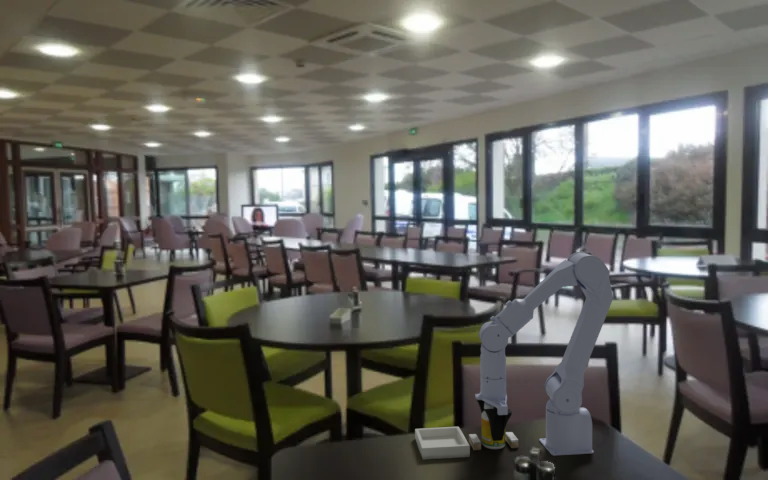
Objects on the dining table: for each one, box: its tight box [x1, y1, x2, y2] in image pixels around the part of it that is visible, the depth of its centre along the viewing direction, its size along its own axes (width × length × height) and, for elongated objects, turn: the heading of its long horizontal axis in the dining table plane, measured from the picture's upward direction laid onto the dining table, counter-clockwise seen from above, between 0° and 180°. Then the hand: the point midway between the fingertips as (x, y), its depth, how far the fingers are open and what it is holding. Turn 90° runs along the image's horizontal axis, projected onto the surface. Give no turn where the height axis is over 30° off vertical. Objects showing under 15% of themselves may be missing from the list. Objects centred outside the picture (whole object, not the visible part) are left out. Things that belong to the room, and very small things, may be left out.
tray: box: [414, 426, 471, 460], centre depth 122 cm, size 10×10×2 cm
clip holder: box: [468, 431, 519, 451], centre depth 124 cm, size 10×4×2 cm, turn 95°
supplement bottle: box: [480, 402, 506, 450], centre depth 123 cm, size 5×5×10 cm
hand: (493, 434), depth 124 cm, fingers closed on supplement bottle, 5 cm apart
